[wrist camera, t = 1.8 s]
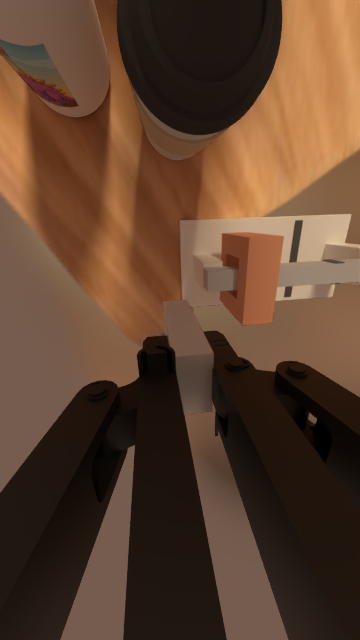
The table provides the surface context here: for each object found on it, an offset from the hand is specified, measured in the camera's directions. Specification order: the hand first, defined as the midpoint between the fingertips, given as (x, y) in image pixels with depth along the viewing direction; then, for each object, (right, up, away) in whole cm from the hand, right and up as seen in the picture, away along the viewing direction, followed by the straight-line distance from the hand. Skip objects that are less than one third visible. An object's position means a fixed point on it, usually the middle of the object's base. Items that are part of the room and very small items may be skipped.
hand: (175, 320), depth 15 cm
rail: (+11, +8, +17) cm, 22 cm away
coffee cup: (0, +21, +10) cm, 23 cm away
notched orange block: (+7, +5, +10) cm, 13 cm away
